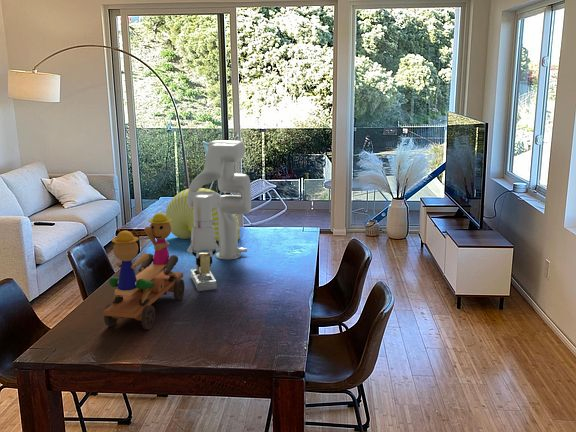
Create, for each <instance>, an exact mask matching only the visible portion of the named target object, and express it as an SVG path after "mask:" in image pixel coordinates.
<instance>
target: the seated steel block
mask: <svg viewBox="0 0 576 432" xmlns="http://www.w3.org/2000/svg"><path fill="white" fill-rule="evenodd" d="M195 269H196V275H199V274H200V272H199V267H198V265H196V264H195Z"/></svg>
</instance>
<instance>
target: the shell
mask: <svg viewBox="0 0 576 432" xmlns="http://www.w3.org/2000/svg"><path fill="white" fill-rule="evenodd" d="M198 191H205V192H216V191H215V190H212V189H209V188H205V187H201V188H200V189H199V190H198ZM188 192H189V188H186V189H184V190H181V191H179V192H178V193H177V194H176V195H175V196H173V197H172V199H170V201H169V203H168V205H167V207H166V210H165V215H166V216H167V218H169V219H171V220H172V221H171V222H169V223H170V225H171V234H172V235H174V236H175V237H177V238H179V239H183V240H186V239H191V232H192V227H194V209H193V208H190V207H189V206H188V203H187V197H188ZM218 194H219V195H220V196H221V195H222V194H220V193H218ZM232 215H233V216H234V217H235V219H236V221H237V236H238V241H239V240H240V238H241V235H240V234H241V232H240V231H241V229H240V222H239V216H238V215H237V214H232ZM212 220H213V221H215V224H213V225H212V226H213V227H214V231H215V238H216V242H217V243H219V236H218V215H217V209H212Z"/></svg>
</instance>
